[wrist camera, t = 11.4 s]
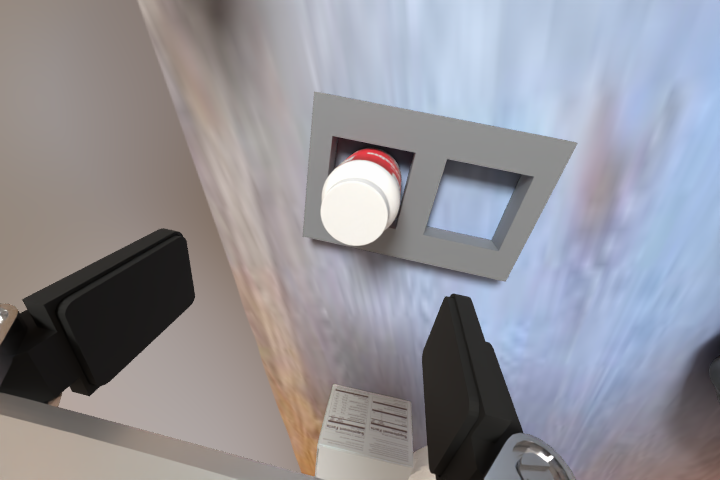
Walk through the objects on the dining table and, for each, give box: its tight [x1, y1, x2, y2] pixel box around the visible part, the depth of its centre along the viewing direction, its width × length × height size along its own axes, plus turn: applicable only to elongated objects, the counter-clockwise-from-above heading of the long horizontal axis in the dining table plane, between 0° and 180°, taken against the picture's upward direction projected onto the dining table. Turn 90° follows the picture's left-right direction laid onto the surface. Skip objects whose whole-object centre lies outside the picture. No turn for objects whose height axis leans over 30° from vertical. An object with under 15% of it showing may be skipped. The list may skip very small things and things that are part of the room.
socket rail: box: [303, 92, 577, 282], centre depth 27 cm, size 22×14×2 cm, turn 80°
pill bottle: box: [321, 148, 401, 246], centre depth 23 cm, size 6×6×11 cm
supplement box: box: [315, 384, 413, 480], centre depth 43 cm, size 17×13×9 cm
